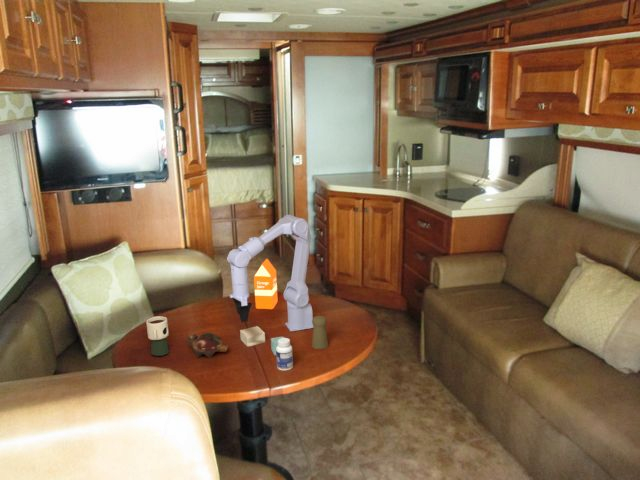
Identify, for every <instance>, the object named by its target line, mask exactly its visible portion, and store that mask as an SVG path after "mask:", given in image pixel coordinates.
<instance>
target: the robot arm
mask: <svg viewBox="0 0 640 480" xmlns="http://www.w3.org/2000/svg"><path fill="white" fill-rule="evenodd" d="M281 235H291V236H292V237H293V238H294V240H295V247H294V254H293V255H294V256H293V264H292V270H291V276H290V280H289V281H288V282H287V283H286V288H285V289H284V291H283V295H282V296H283V298H284V300H285V301H286V305H287V321H286V322H285V323H284V325H285V327H287V329H288V330H289V332H295V331H301V330H306V329H307V330H308V329H314V326H313V324H312V319H313V318H314V315H313V313H314V312H313V308H312V304H311V303H309V301H310V297H309V288H308V286H307V284H306V278H307V270H308V263H309V256H310V249H311V240H312V235H311V231H310V223H309V222H307V220H306V219H305V218H302V217H298V216H295V215H292V214H286V215H284V216H283V217H281V218H280V219H278V221H277V222H276V223H275V224H274V225H273V226H271V227H270V228H269V229H268V230H266V231H265V232H264V233H263V234H261V235H260V236H259V237H257V236H254V237H249V238H248V241H246V242H244V243H243V244H242V245H239V246H238V247H237V248H233V249H231V250H230V251H229V253H228V255H227V257H226V260H227V262H228V263H229V265H230V276H231V289H232V293H230V294H229V298H230V299H232V300H233V303H234V305H235V309H236V312H237V314H238V315H239V319H240V322H241V323H245V322H248V320H249V315H250V314H249V313H250V310H251V307H252V304H253V303H252V302H248V300H249V297H250V292H249V291H250V290H249V280H248V279H249V277H248V276H249V275H248V265H249V263H250V260H251V259H253V258H254V257H256V256H257V255H258V254H260V253H261V252H262V251H264V250H265V249H264V248H265V245H266V244H268V243H271V242H272V241H273V240H276V239H277V238H278V237H280V236H281Z"/></svg>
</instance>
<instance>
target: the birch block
mask: <svg viewBox="0 0 640 480" xmlns="http://www.w3.org/2000/svg"><path fill="white" fill-rule="evenodd" d="M239 332H240V333H239V334H240V341H242V342H243V344H244V345H245V346H246V347H253V346H256V345H259V344H263V343H264V344H265V343H266V333H265V332H264V331H263V329H261V328H260V327H259V326H257V325H256V326H252V327H248V328H244V329H240V330H239Z"/></svg>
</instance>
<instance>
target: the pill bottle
mask: <svg viewBox="0 0 640 480" xmlns="http://www.w3.org/2000/svg"><path fill="white" fill-rule="evenodd" d="M275 356H276V368H277V369H278V370H279V371H282V372H283V371H284V372H285V371H290V370H292V368H294V358H293V346H292V345H291V339H290V338H288V337H284V338H281V339H279V340H278V346H277V347H276V355H275Z"/></svg>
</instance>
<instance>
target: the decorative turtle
mask: <svg viewBox="0 0 640 480" xmlns="http://www.w3.org/2000/svg"><path fill="white" fill-rule="evenodd" d="M185 340H186V343H187V344H188V345H189V347H191V348H192V350H193V353H194V354H195V356H196V358H201V357H202V356H203V355H205V356H206V357H207V358H208V359H211V358H213V356H214V354H215V353H216V352H217V353H219V352H220V353H222V352H223V353H225V352H227V351H228V350H229V344H228V343H226V342H224V340H223V339H222V337H220V336H219V335H218V334H215V333H212V332H211V333H209V332H207V333H202V334H201V335H200V336H199V337H198V335H197V334H196V333H189V334H187V336H186V338H185Z"/></svg>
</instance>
